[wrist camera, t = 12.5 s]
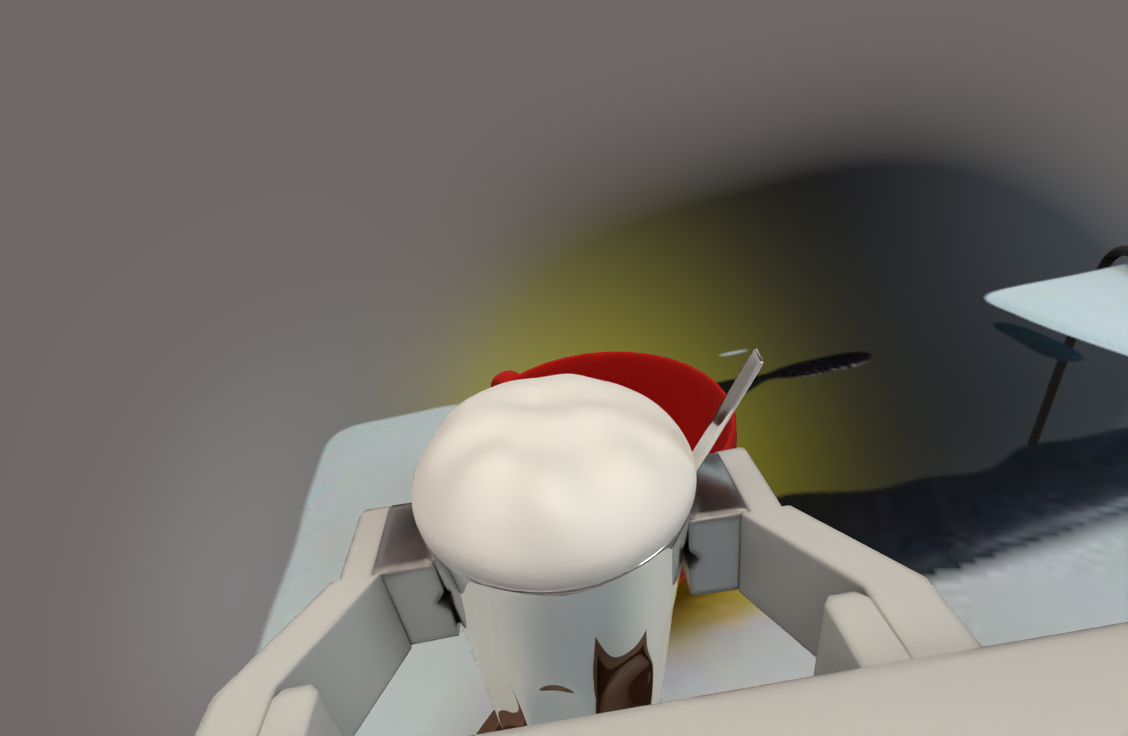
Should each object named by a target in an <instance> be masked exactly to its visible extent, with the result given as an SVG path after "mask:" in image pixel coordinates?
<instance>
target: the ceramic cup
mask: <svg viewBox="0 0 1128 736" xmlns="http://www.w3.org/2000/svg"><path fill="white" fill-rule="evenodd" d="M558 374H576V375H582V376H586V377H590V378H594V379H598V380H603V381H607V382H611V383H615V384H618V385H621V386H624V387H626V388H629V389H631V390H633V391H636V392H638V393H640V394H642V395H644V396H645V397H647V398H649V399H650V400H652V401H653V402H655V403H656V404H657V405H658V406H660V407H661V408H662V409H663V410H664V411H665V412H666V413H667V414H668V415H669V416H670V417H671V418H672V419H673V420H674V422H675V423H676V424H677V425H678V427H679V428H680V429H681V431H682V433H683V434H684V436H685V438H686V439H687V441H688V444H689V446H690V448H691V451H692V452H693V450H694V448H695V447H696V445H697V443H698V442H699V440H700V438H701V437H702V435H703V433H704V432H705V430H706V428H707V427H708V425H709V423H710V422H711V420H712V418H713V417H714V415H715V413H716V411H717V410H718V408H719V406H720V405H721V403H722V401H723V400H724V398H725V396H726V394H725V392H724V391H723V390H722V389H721V387H720V386H719V385H718V384H717V383H716V382H715V381H713V380H712V379H711V378H709V377H708V376H707V375H706V374H704V373H703V372H701V371H699V370H697V369H695V368H693V367H691V366H689V365H688V364H685V363H682V362H679V361H676V360H673V359H670V358H666V357H661V356H657V355H651V354H645V353H635V352H598V353H587V354H581V355H576V356H570V357H565V358H561V359H558V360H554V361H551V362H547V363H544V364H542V365H539V366H537V367H534V368H532V369H529V370H527V371H524V372H523V373H521V374H518V373H517V372H514V371H504V372H502V373H500V374H498V375H496V376H495V377H494V378H493V380H492V383H491V387H493V386H496V385H498V384H501V383H505V382H509V381H514V380H520V379H529V378H539V377H546V376H552V375H558ZM736 440H737V432H736V415H735V412H734V413H733V414H732V416H731V418H730V419H729V421H728V422H727V424H726V426H725V427H724V429H723V431H722V432H721V434H720V435H719V437H718V439H717V440H716V442H715V444H714V445H713V447H712V448H711V450H710V452H709V453H708V454H710V453H715V452H718V451H723V450H729V449H734V448H736V444H737V443H736V442H737V441H736ZM684 579H685V576H684V574H683V571H682V568H681V573H680V578H679V584H680V583H681V582H682V581H683V580H684Z"/></svg>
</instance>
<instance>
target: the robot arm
mask: <svg viewBox="0 0 1128 736" xmlns="http://www.w3.org/2000/svg"><path fill="white" fill-rule="evenodd" d="M1124 255H1125V256H1128V245H1127V246H1120V247H1116V248H1114V249H1112V250H1111V251H1110V252H1108V253H1107V254H1106V255H1105V256H1104V257H1103V259H1102V260H1101V262H1100V263H1099V265H1098V267H1097V269H1096V270H1101V269H1105V268H1110V267H1111V265H1112V264H1113V262H1114V261H1115V260H1116V259H1117V258H1119V257H1120V256H1124ZM1077 339H1078V338H1075V337H1072V336H1069V335H1067V336H1066V339H1065V341H1064V344H1066V345H1067V346H1069V347H1071V348H1074V345H1075V343H1076V341H1077ZM1067 363H1068V361H1061V360H1057V362H1056V365H1055V368H1054V370H1053V373H1052V376H1051V379H1050V381H1049V384H1048V387H1047V390H1046V393H1045V396H1044V398H1043V401H1042V404H1041V407H1040V410H1039V413H1038V415H1037V418H1036V421H1035V424H1034V426H1033V429H1032V432H1031V434H1030V437H1029V440H1028V442H1027V445H1030V444H1036V443H1038V441H1039V439H1040V436H1041V434H1042V431H1043V428H1044V426H1045V423H1046V420H1047V418H1048V415H1049V412H1050V410H1051V407H1052V404H1053V401H1054V399H1055V396H1056V393H1057V390H1058V387H1059V385H1060V382H1061V379H1062V377H1063V374H1064V371H1065V369H1066V366H1067ZM682 571H683V574H684V576H685V579H686V582H687V585H688V588H689V590H690V593H691V596H694V595H701V594H708V593H715V592H722V591H729V590H736V589H739V592H740V593H741V594H743V595H744V596H745V597H746V598H747V599H749V600H750V601H751V602H752V603H753V604H754V605H756V606H757V607H758V608H759V609H760V610H761V611H763V612H764V613H765V614H766V615H767V616H768V617H770V618H771V619H772V620H773V621H774V622H775V623H777V624H778V625H779V626H780V627H781V628H782V629H784V630H785V631H786V632H787V633H788V634H790V635H791V636H792V637H793V638H794V639H795V640H797V641H798V642H799V643H800V644H801V645H802V646H804V647H805V648H806V649H807V650H808V651H809V652H811V653H812V654H813V655H814V656H815V657H816V664H815V671H814V676H812V677H806V678H800V679H795V680H789V681H783V682H777V683H772V684H766V685H760V686H755V687H749V688H743V689H737V690H732V691H726V692H720V693H714V694H709V695H703V696H697V697H692V698H686V699H680V700H674V701H669V702H663V703H657V704H651V705H646V706H640V707H634V708H628V709H623V710H617V711H611V712H605V713H599V714H593V715H588V716H582V717H576V718H570V719H564V720H559V721H553V722H547V723H541V724H535V725H529V726H524V727H518V728H512V729H506V730H500V731H495V732H489V733H483V734H477V735H471V736H1128V622H1124V623H1119V624H1113V625H1107V626H1101V627H1096V628H1090V629H1084V630H1078V631H1072V632H1067V633H1061V634H1055V635H1049V636H1043V637H1038V638H1032V639H1026V640H1020V641H1014V642H1009V643H1003V644H997V645H991V646H985V647H982V646H981V645H980V643H979V642H978V641H977V640H976V638H975V637H974V636H973V635H972V633H971V632H970V631H969V630H968V629H967V627H966V626H965V625H964V624H963V622H962V621H961V620H960V619H959V617H958V616H957V615H956V614H955V613H954V611H953V610H952V609H951V608H950V606H949V605H948V604H947V603H946V602H945V600H944V599H943V598H942V597H941V595H940V594H939V593H938V592H937V590H936V589H935V588H934V587H933V586H932V584H931V583H930V582H929V581H928V579H927V578H926V577H924V576H922V575H920V574H918V573H916V572H915V571H913V570H911V569H909V568H907V567H905V566H903V565H901V564H900V563H898V562H896V561H894V560H892V559H890V558H888V557H886V556H884V555H883V554H881V553H879V552H877V551H875V550H873V549H871V548H869V547H867V546H866V545H864V544H862V543H860V542H858V541H856V540H854V539H852V538H850V537H849V536H847V535H845V534H843V533H841V532H839V531H837V530H835V529H833V528H832V527H830V526H828V525H826V524H824V523H822V522H820V521H818V520H816V519H815V518H813V517H811V516H809V515H807V514H805V513H803V512H801V511H800V510H798V509H796V508H794V507H792V506H790V505H789V506H781V505H780V503H779V502H778V500H777V498H776V497H775V495H774V494H773V492H772V490H771V489H770V487H769V486H768V484H767V483H766V481H765V479H764V478H763V476H762V475H761V473H760V472H759V470H758V468H757V467H756V465H755V464H754V462H753V461H752V459H751V457H750V456H749V454H748V452H747V451H746V450H745V449H744V448H742V447H739V448H734V449H729V450H723V451H718V452H715V453H710V454H708V455H707V457H706V458H705V460H704V461H703V463H702V465H701V466H700V468H699V470H698V471H697V473H696V492H695V497H694V502H693V508H692V513H691V518H690V523H689V529H688V535H687V541H686V546H685V551H684V557H683V562H682ZM459 631H460V621H459V619H458V617H457V614H456V612H455V610H454V608H453V605H452V603H451V601H450V599H449V596H448V594H447V592H446V590H445V588H444V585H443V583H442V581H441V579H440V576H439V574H438V572H437V570H436V567H435V565H434V563H433V561H432V558H431V556H430V554H429V552H428V550H427V547H426V545H425V543H424V541H423V538H422V536H421V533H420V531H419V529H418V527H417V524H416V521H415V518H414V514H413V510H412V503H406V504H399V505H393V506H389V507H382V508H375V509H368V510H365V511H364V512H363V513H362V514H361V516H360V518H359V521H358V524H357V528H356V531H355V534H354V537H353V540H352V543H351V546H350V549H349V552H348V555H347V558H346V561H345V564H344V567H343V570H342V574H341V577H340V580H339V581H337V582H332V583H330V584H329V585H328V586H327V587H326V588H325V589H324V590H323V591H322V592H321V593H320V594H319V595H318V596H317V597H316V598H314V599H313V600H312V601H311V602H310V603H309V604H308V605H307V606H306V607H305V608H304V609H303V610H302V611H301V612H300V613H299V614H298V615H297V616H296V617H295V618H294V619H293V620H292V621H291V622H290V623H289V624H288V625H287V626H286V627H285V628H284V629H283V630H282V631H281V632H280V633H279V634H278V635H277V636H275V637H274V638H273V639H272V640H271V641H270V642H269V643H268V644H267V645H266V646H265V647H264V648H263V649H262V650H261V651H260V652H259V653H258V654H257V655H256V656H255V657H254V658H253V659H252V660H251V661H250V662H249V663H248V664H247V665H246V666H245V667H244V668H243V669H242V670H241V671H240V672H239V673H238V674H236V676H235V677H233V679H231V680H230V681H229V682H228V683H227V684H226V685H225V686H224V687H223V688H222V689H221V690H220V691H219V692H218V693H217V694H216V695H215V696H214V697H213V698H212V699H211V702H210V704H209V706H208V708H207V710H206V712H205V714H204V716H203V719H202V721H201V723H200V725H199V727H198V729H197V731H196V734H195V736H355V734H356V732H357V731H358V729H359V728H360V726H361V725H362V723H363V722H364V720H365V719H366V717H367V716H368V714H369V713H370V711H371V709H372V708H373V706H374V705H375V703H376V702H377V700H378V699H379V697H380V696H381V694H382V693H383V691H384V690H385V688H386V686H387V685H388V683H389V682H390V680H391V679H392V677H393V676H394V674H395V673H396V671H397V670H398V668H399V667H400V665H401V664H402V662H403V660H404V659H405V657H406V656H407V654H408V653H409V651H410V650H411V648H412V647H411V645H413V644H418V643H423V642H428V641H433V640H438V639H443V638H448V637H453V636H459Z"/></svg>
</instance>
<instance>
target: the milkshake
mask: <svg viewBox="0 0 1128 736" xmlns="http://www.w3.org/2000/svg"><path fill="white" fill-rule="evenodd" d="M762 365H763V360H762V357H761V355H760V353H759V351H758V349H754V350H753V351H752V353H751V354H750V356H749V358H748V359H747V361H746V363H745V364H744V366H743V368H742V369H741V371H740V373H739V375H738V376H737V378H736V380H735V381H734V383H733V385H732V386H731V388H730V390H729V391H728V393H727V395H726V396H725V398H724V400H723V401H722V403H721V405H720V406H719V408H718V410H717V411H716V413H715V415H714V417H713V418H712V420H711V422H710V423H709V425H708V427H707V428H706V430H705V432H704V433H703V435H702V437H701V438H700V440H699V442H698V443H697V445H696V447H695V448H694V450H693V452H692V451H691V448H690V446H689V444H688V441H687V439H686V438H685V436H684V434H683V433H682V431H681V429H680V428H679V427H678V425H677V424H676V423H675V422H674V420H673V419H672V418H671V417H670V416H669V415H668V414H667V413H666V412H665V411H664V410H663V409H662V408H661V407H660V406H658V405H657V404H656V403H655V402H653V401H652V400H650V399H649V398H647V397H645V396H644V395H642V394H640V393H638V392H636V391H633V390H631V389H629V388H626V387H624V386H621V385H618V384H615V383H611V382H607V381H603V380H598V379H594V378H590V377H586V376H582V375H576V374H558V375H552V376H546V377H539V378H529V379H520V380H514V381H509V382H505V383H501V384H498V385H496V386H493V387H491V388H489V389H486V390H484V391H482V392H480V393H478V394H476V395H474V396H472V397H470V398H468V399H467V400H465V401H464V402H462V403H461V404H459V405H458V406H457V407H456V408H454V409H453V410H452V411H451V412H450V413H449V414H448V416H447V417H446V418H445V420H444V421H443V422H442V424H441V425H440V426H439V428H438V429H437V431H436V432H435V434H434V436H433V437H432V439H431V441H430V442H429V444H428V446H427V448H426V449H425V451H424V453H423V455H422V457H421V459H420V461H419V463H418V466H417V468H416V471H415V474H414V478H413V483H412V491H411V502H412V510H413V514H414V518H415V521H416V524H417V527H418V529H419V531H420V533H421V536H422V538H423V541H424V543H425V545H426V547H427V550H428V552H429V554H430V556H431V558H432V561H433V563H434V565H435V567H436V570H437V572H438V574H439V576H440V579H441V581H442V583H443V585H444V588H445V590H446V592H447V594H448V596H449V599H450V601H451V603H452V605H453V608H454V610H455V612H456V614H457V617H458V619H459V621H460V623H461V626H462V628H463V630H464V633H465V635H466V638H467V640H468V642H469V645H470V647H471V650H472V653H473V655H474V658H475V661H476V663H477V666H478V668H479V671H480V673H481V676H482V679H483V681H484V684H485V686H486V689H487V691H488V694H489V696H490V699H491V702H492V704H493V707H494V709H495V712H496V714H497V717H498V719H499V722H500V724H501V727H502V729H503V730H506V729H512V728H518V727H524V726H529V725H535V724H541V723H547V722H553V721H559V720H564V719H570V718H576V717H582V716H588V715H593V714H599V713H605V712H611V711H617V710H623V709H628V708H634V707H640V706H646V705H651V704H657V703H661V695H662V688H663V680H664V673H665V665H666V658H667V650H668V643H669V635H670V628H671V620H672V613H673V607H674V603H675V599H676V594H677V589H678V584H679V578H680V573H681V568H682V562H683V557H684V551H685V546H686V541H687V535H688V529H689V523H690V518H691V513H692V508H693V502H694V497H695V492H696V473H697V471H698V470H699V468H700V466H701V465H702V463H703V461H704V460H705V458H706V457H707V455H708V453H709V452H710V450H711V448H712V447H713V445H714V444H715V442H716V440H717V439H718V437H719V435H720V434H721V432H722V431H723V429H724V427H725V426H726V424H727V422H728V421H729V419H730V418H731V416H732V414H733V413H734V411H735V409H736V407H737V406H738V404H739V403H740V401H741V400H742V398H743V396H744V395H745V393H746V392H747V390H748V388H749V387H750V385H751V383H752V382H753V380H754V378H755V377H756V375H757V374H758V372H759V370H760V368H761V367H762Z"/></svg>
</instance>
